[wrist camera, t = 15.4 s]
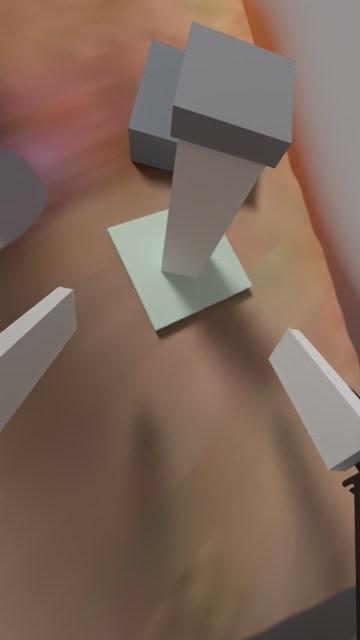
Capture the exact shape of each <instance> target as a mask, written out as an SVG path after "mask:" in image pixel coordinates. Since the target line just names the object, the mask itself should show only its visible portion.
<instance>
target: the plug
mask: <svg viewBox="0 0 360 640" xmlns="http://www.w3.org/2000/svg"><path fill="white" fill-rule="evenodd" d="M294 80H295V60H292V59H290V58H287V57H284V56H282V55H279V54H277V53H274V52H271V51H269V50H266V49H263V48H261V47H258V46H256V45H253V44H250V43H248V42H245V41H242V40H240V39H237V38H235V37H232V36H229V35H227V34H224V33H221V32H219V31H216V30H214V29H211V28H208V27H206V26H203V25H200V24H198V23H195V22H193V21H192V24H191V28H190V32H189V37H188V41H187V46H186V50H185V54H184V59H183V63H182V68H181V72H180V76H179V81H178V85H177V90H176V94H175V98H174V103H173V111H172V121H171V132H170V137H174V138H177V139H178V141H177V149H176V157H175V164H174V172H173V180H172V187H171V195H170V203H169V210H168V218H167V226H166V234H165V241H164V249H163V257H162V264H161V271H164V272H168V273H173V274H178V275H182V276H187V277H191V278H196V279H197V278H198V276H199V275H200V273H201V272H202V270H203V268H204V267H205V265H206V263H207V262H208V260H209V258H210V257H211V255H212V253H213V252H214V250H215V249H216V247H217V245H218V244H219V242H220V240H221V239H222V237H223V235H224V234H225V232H226V230H227V229H228V227H229V226H230V224H231V222H232V221H233V219H234V217H235V216H236V214H237V212H238V211H239V209H240V207H241V206H242V204H243V203H244V201H245V199H246V198H247V196H248V194H249V193H250V191H251V189H252V188H253V186H254V184H255V183H256V181H257V180H258V178H259V176H260V175H261V173H262V171H263V170H264V168H265V166H269V167H272V168H275V167H276V166H277V164H278V163H279V161H280V160H281V158H282V157H283V155H284V154H285V152H286V151H287V149H288V148H289V146H290V145H291V142H292V120H293V101H294Z"/></svg>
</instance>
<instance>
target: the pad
mask: <svg viewBox="0 0 360 640" xmlns="http://www.w3.org/2000/svg"><path fill="white" fill-rule="evenodd" d="M168 210H169V209H167V210H164V211H161V212H158V213H155V214H151V215H148V216H145V217H142V218H139V219H136V220H133V221H129V222H126V223H123V224H120V225H117V226H114V227H110V228H107V230H108V233H109V235H110V237H111V239H112V242H113V244H114V246H115V248H116V250H117V252H118V254H119V256H120V259H121V261H122V263H123V265H124V267H125V269H126V271H127V273H128V275H129V278H130V280H131V282H132V284H133V286H134V288H135V290H136V292H137V294H138V297H139V299H140V301H141V303H142V305H143V307H144V309H145V311H146V313H147V316H148V318H149V320H150V322H151V324H152V326H153V328H154V330H155V332H156V331H158V330H160V329H162V328H164V327H166V326H169V325H171V324H173V323H175V322H177V321H179V320H181V319H184V318H186V317H188V316H190V315H192V314H194V313H197V312H199V311H201V310H203V309H205V308H207V307H210V306H212V305H214V304H216V303H218V302H220V301H222V300H225V299H227V298H229V297H231V296H233V295H235V294H238V293H240V292H242V291H244V290H246V289H248V288H250V287H251V286H252V284H251V282H250V280H249V279H248V277H247V275H246V273H245V271H244V269H243V268H242V266H241V264H240V262H239V260H238V258H237V257H236V255H235V253H234V251H233V249H232V247H231V246H230V244H229V242H228V240H227V238H226V236H225V234H224V235H223V237H222V239H221V240H220V242H219V244H218V245H217V247H216V249H215V250H214V252H213V253H212V255H211V257H210V258H209V260H208V262H207V263H206V265H205V267H204V268H203V270H202V272H201V273H200V275H199V276H198V278H197V279H196V278H191V277H187V276H182V275H178V274H173V273H168V272H164V271H161V264H162V257H163V249H164V241H165V234H166V226H167V218H168Z"/></svg>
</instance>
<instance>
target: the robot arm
mask: <svg viewBox="0 0 360 640" xmlns="http://www.w3.org/2000/svg"><path fill="white" fill-rule="evenodd" d="M76 330H77V321H76V310H75V300H74V290H73V289H69V288H63V287H58V288H57V289H55V290H54V291H53V292H52V293H50V294H49V295H48V296H47V297H45V298H44V299H43V300H42V301H40V302H39V303H38V304H36V305H35V306H34V307H33V308H31V309H30V310H29V311H28V312H26V313H25V314H24V315H23V316H21V317H20V318H19V319H17V320H16V321H15V322H14V323H12V324H11V325H10V326H9V327H7V328H6V329H5V330H3V331H2V332H0V432H1V431H2V429H3V428H4V427H5V425H6V424H7V423H8V421H9V420H10V418H11V417H12V416H13V414H14V413H15V412H16V410H17V409H18V408H19V406H20V405H21V404H22V402H23V401H24V400H25V398H26V397H27V396H28V394H29V393H30V392H31V390H32V389H33V388H34V386H35V385H36V384H37V382H38V381H39V379H40V378H41V377H42V375H43V374H44V373H45V371H46V370H47V369H48V367H49V366H50V365H51V363H52V362H53V361H54V359H55V358H56V357H57V355H58V354H59V353H60V351H61V350H62V349H63V347H64V346H65V344H66V343H67V342H68V340H69V339H70V338H71V336H72V335H73V334H74V332H75V331H76ZM269 361H270V363H271V364H272V366H273V368H274V370H275V372H276V374H277V375H278V377H279V379H280V381H281V383H282V385H283V387H284V388H285V390H286V392H287V394H288V396H289V398H290V399H291V401H292V403H293V405H294V407H295V409H296V411H297V412H298V414H299V416H300V418H301V420H302V422H303V423H304V425H305V427H306V429H307V431H308V433H309V435H310V436H311V438H312V440H313V442H314V444H315V446H316V447H317V449H318V451H319V453H320V455H321V457H322V459H323V460H324V462H325V464H326V466H327V468H328V470H334V471H346V470H348V469H349V468H351V467H353V466H354V465H355V466H356V468H357V470H358V471H359V473H357V474H355V475H354V476H352V477H350V478H348V479H346V480H345V481H343V484H342V486H344V487H347V486H348V485H350V484H354V487H353V488H351V489H350V490H349V491H350V492H352V493H353V494H354V502H355V558H356V608H357V609H356V613H357V640H360V397H359V396H358V395H357V393H356V392H355V391H354V390H352V389H351V388H350V387H349V386H348V385H347V384H346V383H345V382H344V381H343V380H342V379H341V378H340V376H339V375H338V374H337V373H336V372H335V371H334V370H333V368H332V367H331V366H330V365H329V364H328V363H327V362H326V360H325V359H324V358H323V357H322V356H321V355H320V354H319V352H318V351H317V350H316V349H315V348H314V347H313V346H312V344H311V343H310V342H309V341H308V340H307V339H306V338H305V336H304V335H303V334H302V333H301V332H300V331H299V330H295V329H290V328H288V329H287V331H286V332H285V334H284V335H283V337H282V339H281V340H280V342H279V343H278V345H277V346H276V348H275V349H274V351H273V353H272V354H271V356H270V357H269Z"/></svg>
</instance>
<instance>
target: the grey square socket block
mask: <svg viewBox="0 0 360 640" xmlns="http://www.w3.org/2000/svg"><path fill="white" fill-rule="evenodd" d="M184 54H185V51H184V50H182V49H179V48H176V47H173V46H170V45H167V44H165V43H162V42H159V41H156V40H153V39H152V41H151V45H150V49H149V52H148V56H147V60H146V64H145V67H144V71H143V75H142V78H141V82H140V86H139V90H138V93H137V97H136V101H135V104H134V108H133V112H132V116H131V119H130V123H129V127H128V131H129V142H130V153H131V161H134V162H137V163H141V164H145V165H148V166H152V167H155V168H159V169H163V170H166V171H170V172H174V164H175V157H176V149H177V141H178V139H177V138H174V137H170V132H171V121H172V111H173V103H174V98H175V94H176V90H177V85H178V81H179V76H180V72H181V68H182V63H183V59H184Z"/></svg>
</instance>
